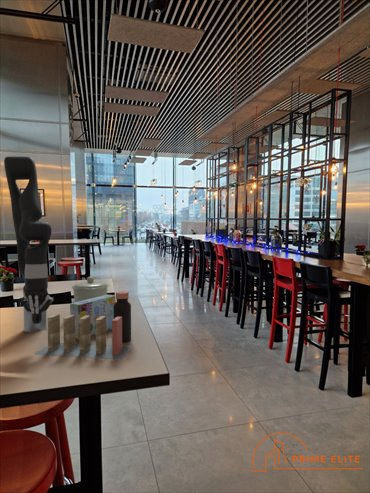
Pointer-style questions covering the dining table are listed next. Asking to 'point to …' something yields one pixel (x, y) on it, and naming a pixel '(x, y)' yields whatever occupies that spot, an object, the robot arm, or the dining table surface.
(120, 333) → the domino
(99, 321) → the domino
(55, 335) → the domino
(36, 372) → the dining table surface
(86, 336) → the domino
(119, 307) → the bottle
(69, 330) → the domino
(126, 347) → the board
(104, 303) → the snack box
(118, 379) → the dining table surface
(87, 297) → the canister
